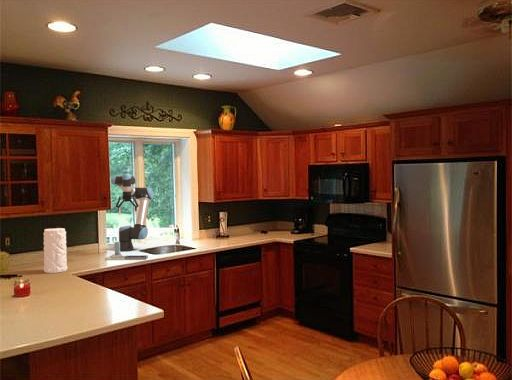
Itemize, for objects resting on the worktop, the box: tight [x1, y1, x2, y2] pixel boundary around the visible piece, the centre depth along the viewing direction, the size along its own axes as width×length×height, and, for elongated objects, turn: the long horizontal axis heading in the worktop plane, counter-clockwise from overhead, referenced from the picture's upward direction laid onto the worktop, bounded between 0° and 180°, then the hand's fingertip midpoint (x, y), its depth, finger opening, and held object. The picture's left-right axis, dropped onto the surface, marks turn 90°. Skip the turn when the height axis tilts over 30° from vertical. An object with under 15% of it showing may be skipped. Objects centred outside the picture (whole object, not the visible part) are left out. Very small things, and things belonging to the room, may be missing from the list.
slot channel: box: [123, 254, 149, 261], centre depth 381 cm, size 9×18×3 cm, turn 91°
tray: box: [104, 255, 127, 261], centre depth 381 cm, size 11×16×3 cm
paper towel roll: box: [42, 227, 68, 274], centre depth 340 cm, size 17×16×32 cm
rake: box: [113, 241, 122, 255], centre depth 392 cm, size 5×4×14 cm
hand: (127, 214), depth 403 cm, fingers open, 13 cm apart
